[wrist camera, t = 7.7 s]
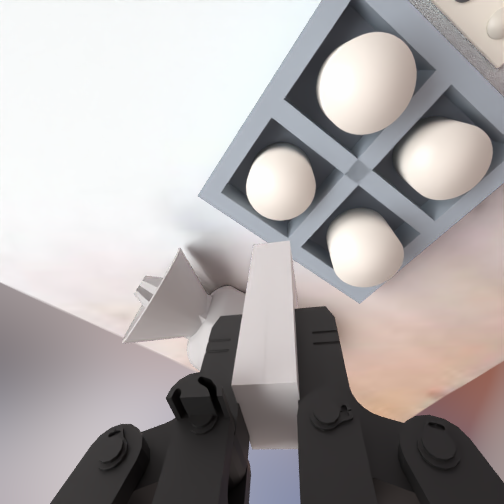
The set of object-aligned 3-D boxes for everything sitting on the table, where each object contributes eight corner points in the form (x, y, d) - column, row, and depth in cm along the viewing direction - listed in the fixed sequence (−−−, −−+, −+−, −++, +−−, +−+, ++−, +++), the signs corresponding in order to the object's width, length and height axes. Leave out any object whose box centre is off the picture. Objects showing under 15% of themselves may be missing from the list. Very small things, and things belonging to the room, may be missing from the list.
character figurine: (128, 302, 37) (264, 371, 42) (91, 363, 29) (262, 439, 34) (177, 223, 31) (328, 315, 36) (145, 275, 24) (342, 381, 28)
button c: (300, 95, 22) (304, 99, 18) (353, 19, 19) (368, 8, 16) (355, 140, 23) (368, 151, 20) (411, 73, 21) (437, 73, 17)
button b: (314, 240, 27) (318, 264, 24) (356, 195, 25) (367, 215, 22) (357, 270, 29) (367, 297, 25) (401, 230, 26) (419, 254, 23)
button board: (207, 181, 29) (197, 195, 25) (343, -32, 21) (355, -53, 17) (351, 279, 33) (359, 303, 29) (512, 134, 25) (550, 144, 21)
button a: (378, 158, 25) (393, 172, 22) (431, 101, 23) (457, 106, 19) (422, 195, 26) (443, 213, 23) (477, 143, 24) (509, 155, 21)
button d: (239, 180, 27) (233, 195, 24) (274, 128, 25) (273, 137, 21) (286, 212, 28) (286, 232, 25) (324, 167, 26) (330, 181, 23)
